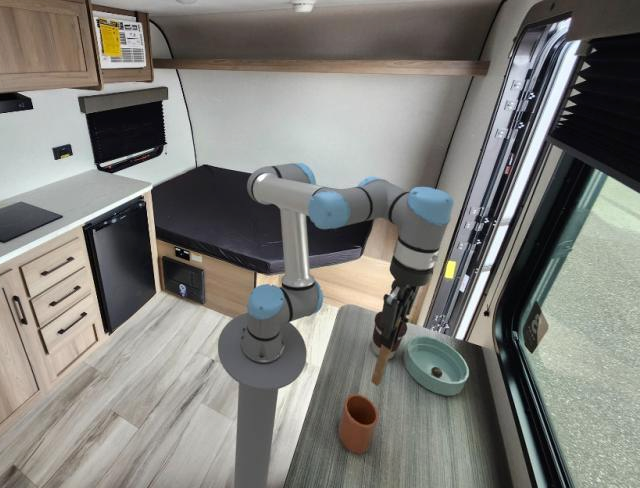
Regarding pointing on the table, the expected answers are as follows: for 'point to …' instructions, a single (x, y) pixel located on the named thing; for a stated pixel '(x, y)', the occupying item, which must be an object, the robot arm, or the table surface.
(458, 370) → the bowl
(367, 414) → the crock
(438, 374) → the bead
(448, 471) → the table surface
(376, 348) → the coffee cup
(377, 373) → the stick
